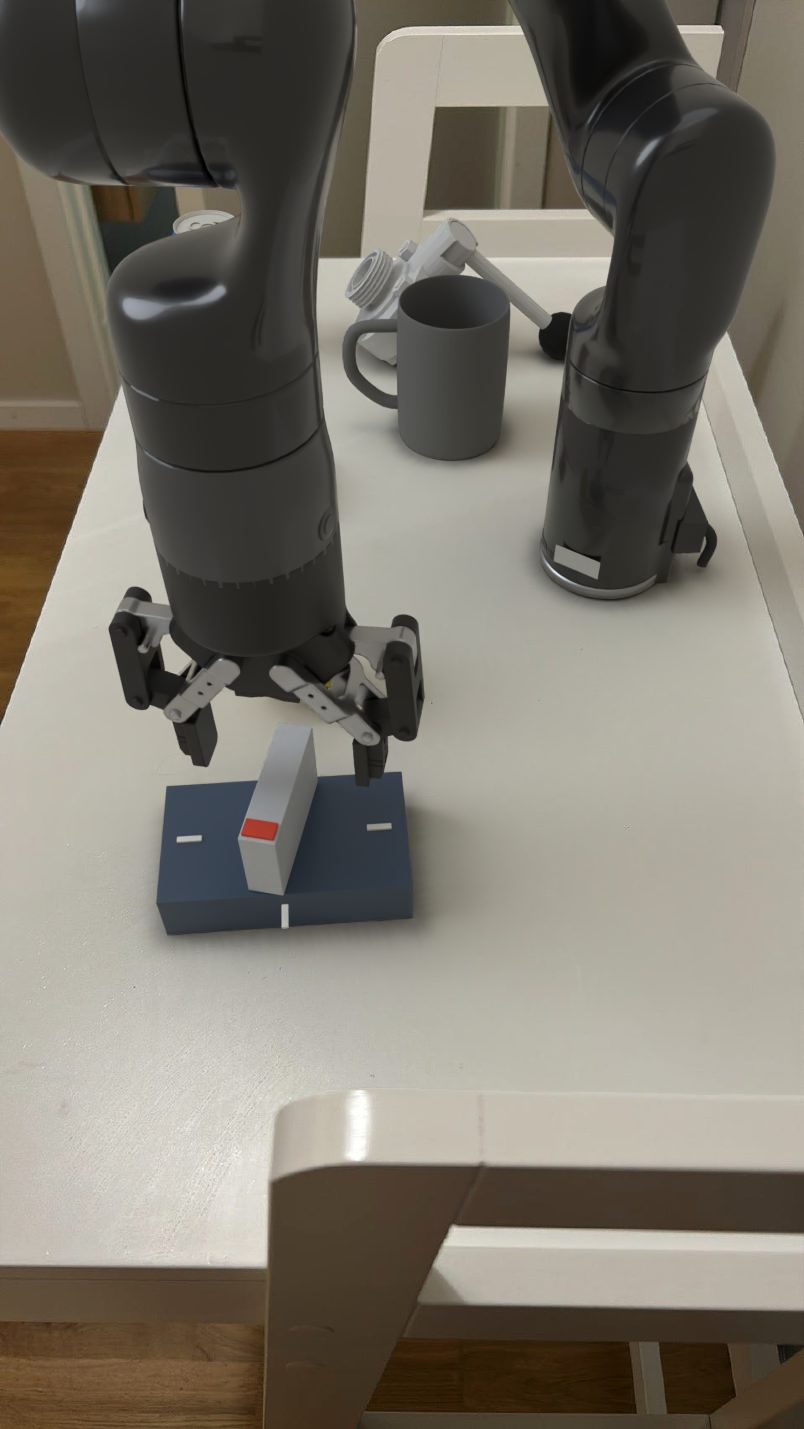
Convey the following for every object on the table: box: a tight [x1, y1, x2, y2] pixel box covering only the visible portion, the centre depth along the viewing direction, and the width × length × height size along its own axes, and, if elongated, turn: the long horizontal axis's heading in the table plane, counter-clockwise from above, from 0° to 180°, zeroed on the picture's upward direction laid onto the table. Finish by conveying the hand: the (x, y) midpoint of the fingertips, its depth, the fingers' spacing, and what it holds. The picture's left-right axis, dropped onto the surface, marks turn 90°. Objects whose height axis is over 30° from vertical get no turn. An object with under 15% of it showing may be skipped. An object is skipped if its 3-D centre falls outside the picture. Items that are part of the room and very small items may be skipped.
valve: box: [344, 217, 572, 366], centre depth 98 cm, size 10×20×15 cm
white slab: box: [238, 722, 319, 895], centre depth 58 cm, size 8×2×5 cm, turn 169°
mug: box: [341, 274, 511, 461], centre depth 87 cm, size 14×9×12 cm
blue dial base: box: [155, 771, 414, 936], centre depth 61 cm, size 14×12×4 cm
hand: (285, 763), depth 54 cm, fingers open, 8 cm apart
